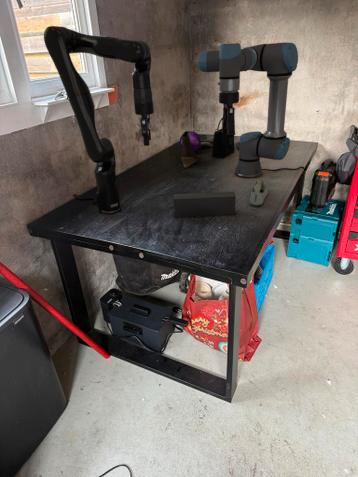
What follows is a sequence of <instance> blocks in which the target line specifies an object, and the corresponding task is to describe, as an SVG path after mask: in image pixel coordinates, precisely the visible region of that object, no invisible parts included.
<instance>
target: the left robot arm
mask: <svg viewBox="0 0 358 477" xmlns="http://www.w3.org/2000/svg"><path fill="white" fill-rule="evenodd" d="M43 41H44V45H45V48H46V50H47V52H48V55H49V56H50V58H51V60H52V63H53V65H54V67H55V69H56V71H57V74H58V76H59V78H60V81H61V83H62V86H63V88H64V91H65V94H66V96H67V99H68V102H69V105H70V107H71V109H72V112H73V114H74V117H75V120H76V123H77V125H78V128H79V131H80V134H81V138H82V141H83V145H84V148H85V151H86V154H87V156H88V158H89V159H90V161H92V163H95V164H96V165H95V167H94V170H93V175H94V179H95V185H96V189H97V191H96V194H95V195H96V197H95V196H87V197H80V196H79V195H78V194H77V193H75V192H74V193H75V195H74V193H73V194H72V196H74V197H76V199H78V200H81V201H82V200H89V199H90V200H93V203H94V204H97V205H98V211H99V212H101V213H103V214H106V215H107V214H115V213H118V212H119V211H121V209H122V205H121V200H120V194H119V187H118V182H117V181H118V180H117V175H116V167H117V162H116V152H115V147H114V145H113V143H112V141H111V140H110V139H109V138H107V137H100V135H99V133H98V130H97V125H96V106H95V101H94V99H93V98H94V97H93V95H92V93H91V90H90V88H89V86H88V84H87V82H86V81H85V80H84V79H83V77H82V76H81V74H80V73H79V72H78V70H77V69H76V66H74V63H73V60H72V57H71V55H70V54H89V55H93V56H96V57H99V58H103V59H110V60H117V61H123V62H126V63H130V64H134V65H133V66H134V67H133V68H134V70H133V71H132V73H131V83H132V98H133V106H134V114H135V115H137V116H141V118H140V119H139V123H140V131H141V136H142V140H143V146H144V147H149V146H150V141H152V135H151V134H152V133H151V131H152V118H151V115H153V114H154V113H155V106H154V104H155V103H154V95H153V94H154V93H153V89H152V79H151V70H152V51H151V48H150V46H149V44H148V43H147V42H146V41H144V40H131V39H122V38H119V37H115V36H114V37H113V36H106V35H92V34H87V33H82V32H78V31H75V30H73V29H71V28H67V27H65V26H58V25H50V26H48V27H46V28H45V29H44V31H43Z"/></svg>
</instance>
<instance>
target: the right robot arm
mask: <svg viewBox="0 0 358 477" xmlns="http://www.w3.org/2000/svg"><path fill="white" fill-rule="evenodd" d="M298 63H299V51H298V47H297V46H296V44H295V43H294V42H286V41H284V42H273V43H261V44H257V45H252V46H245V47H243V48H242V45H241V43H239V42H235V43H222V44H221V45H220V46H219V50H205V51H201V52H200V53H199V54H198V57H197V66H198V69H199V71H200V72H203V73H219V76H218V79H219V80H218V81H219V82H217V85H218V90H219V93H218V103H219V104H222V105H223V106H222V107H223V108H222V117H223V121H221V126H222V125H223V145H227V149H226V153H231V154H234V153H235V151H234V146H235V136H236V118H235V117H236V116H235V113H236V112H235V110H236V108H235V107H234V104H238V103H239V102H240V92H239V91H240V89H241V73H242V72H248V71H253V72H263V73H264V72H265V73H266V78H267V79H268V80H269V85H268V101H267V102H268V103H267V105H268V106H267V118H266V119H267V121H266V130H265V131H264V133H263V134H264V136H262V132H261V131H259V130H258V131H249V132H244V133H242V134H240V136H239V141H238V142H239V150H238V162H237V165H236V167H235V169H234V174H235V176H236V177H239V178H243V179H255V178H259V177H261V176H262V175H263V171H266V172H277V171H285V170H287V171H298V170H300V169H303V170H305V169H306V168H305V167H304V166H299V167H296V168H290V167H281V168H277V169H276V168H275V169H270V168H262V165H261V159H267V160H273V161H282V160H284V159H285V157H286V156H287V154H288V152H289V150H290V145H291V138H289V137H288V135H287V134H288V133H287V131H285V124H286V123H285V122H286V112H287V100H288V99H287V98H288V89H289V79H290V78H291V77H292V76H293V72H295V71H296V70H297V68H298Z"/></svg>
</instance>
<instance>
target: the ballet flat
mask: <svg viewBox="0 0 358 477" xmlns="http://www.w3.org/2000/svg"><path fill="white" fill-rule="evenodd" d="M268 194H269V189H268V186H267V183H266V182H265V181H264V180H262V179H257V180H255V181H254V182H253V184H252V187H251V190H250V196H249V204H250V205H251V206H252V207H260V206H261V205H263V203H264V201H265V198H266V196H267V195H268Z"/></svg>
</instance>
